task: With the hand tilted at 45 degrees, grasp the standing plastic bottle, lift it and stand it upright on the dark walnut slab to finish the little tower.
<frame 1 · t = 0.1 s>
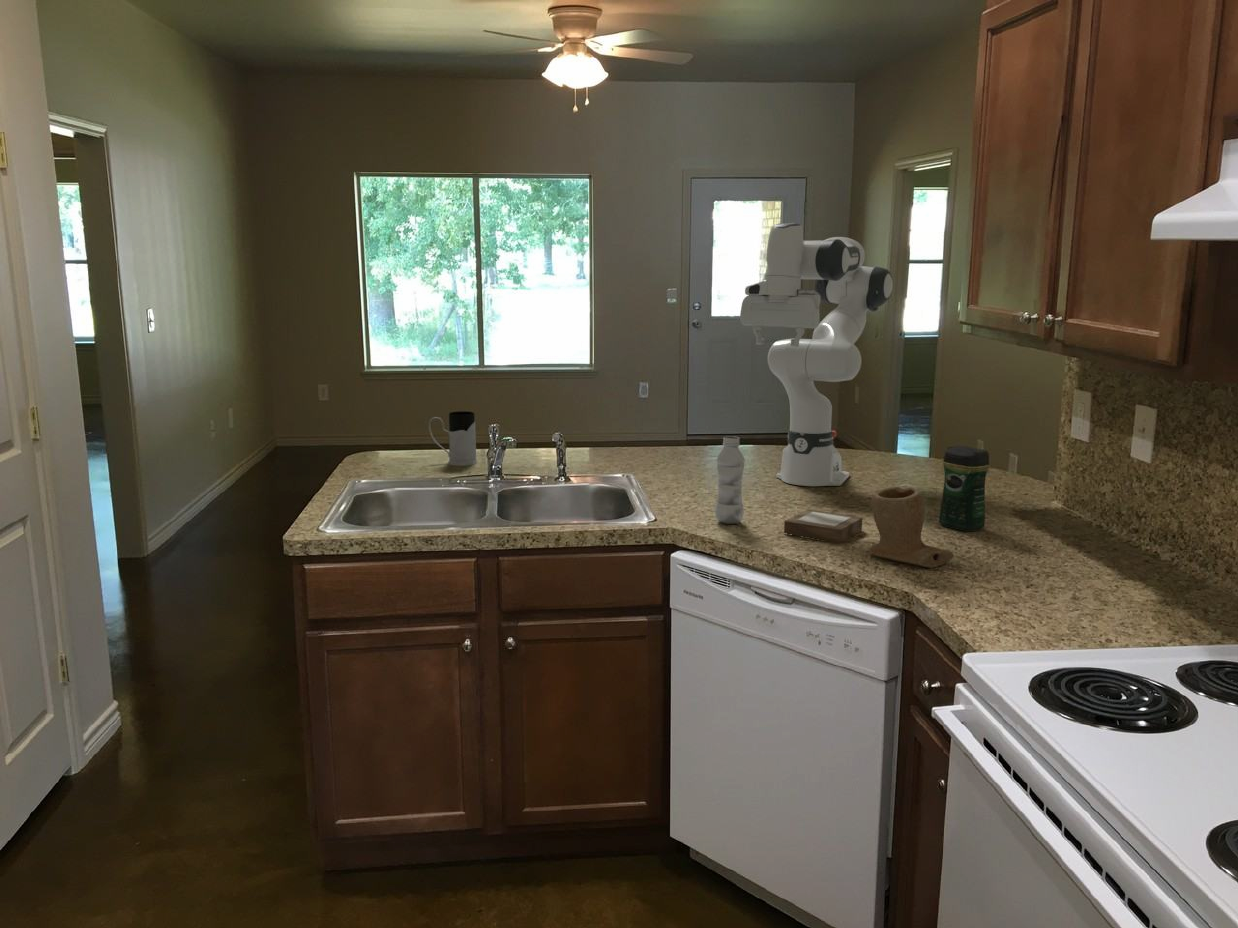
hand: (777, 345, 242), 39 cm above the worktop, tool pointing down, fingers open, 8 cm apart
coffee jar: (961, 527, 223), on the worktop
walnut slab: (823, 532, 217), on the worktop
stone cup: (904, 562, 196), on the worktop
grey and black mug: (453, 463, 291), on the worktop
plastic bottle: (728, 523, 225), on the worktop
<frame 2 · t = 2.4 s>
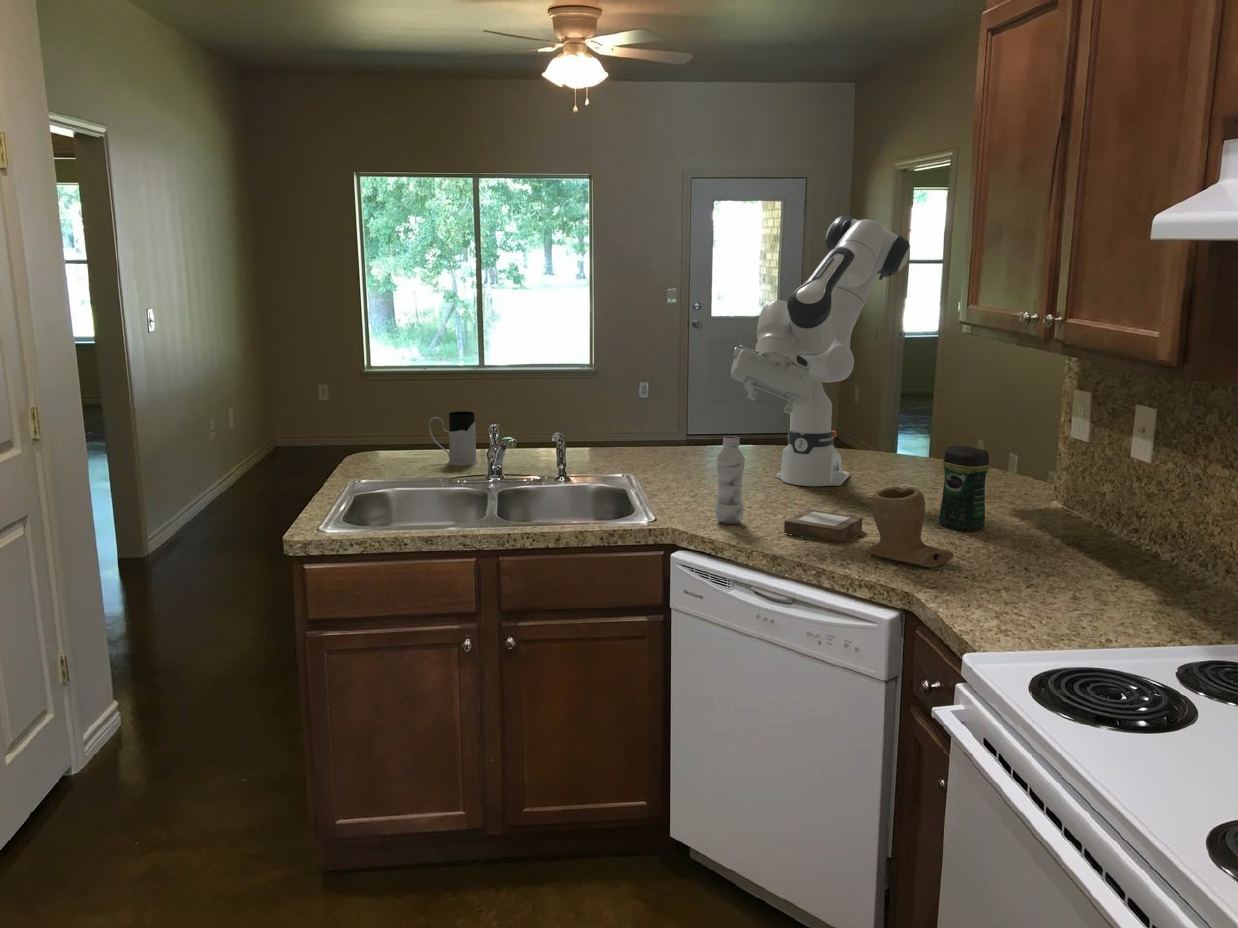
hand: (770, 405, 223), 27 cm above the worktop, tool tilted 45°, fingers open, 8 cm apart
nothing on the worktop moved.
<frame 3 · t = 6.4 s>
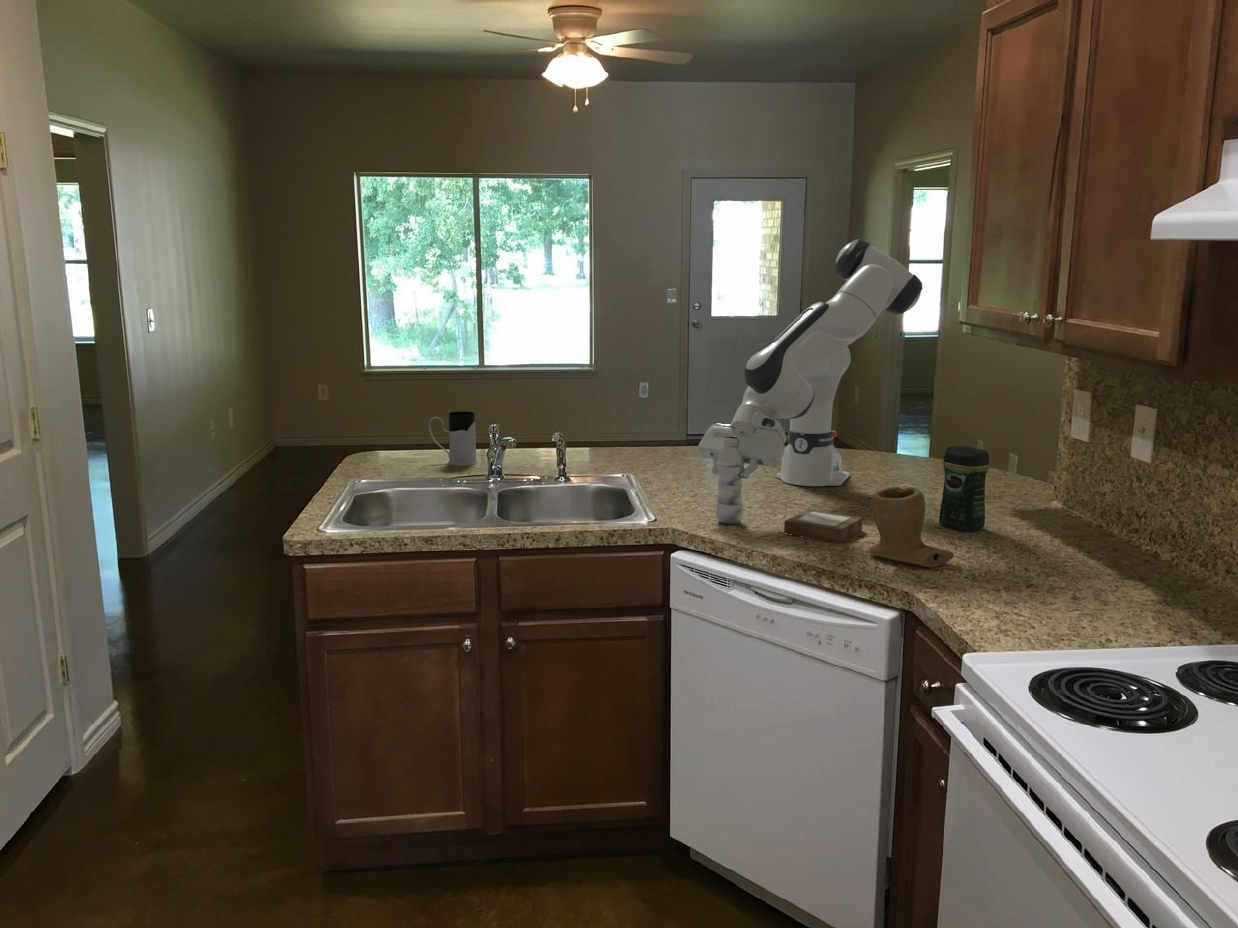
hand: (729, 475, 222), 11 cm above the worktop, tool tilted 45°, fingers closed on plastic bottle, 6 cm apart
plastic bottle: (728, 523, 225), on the worktop, touching gripper
everything else where it was.
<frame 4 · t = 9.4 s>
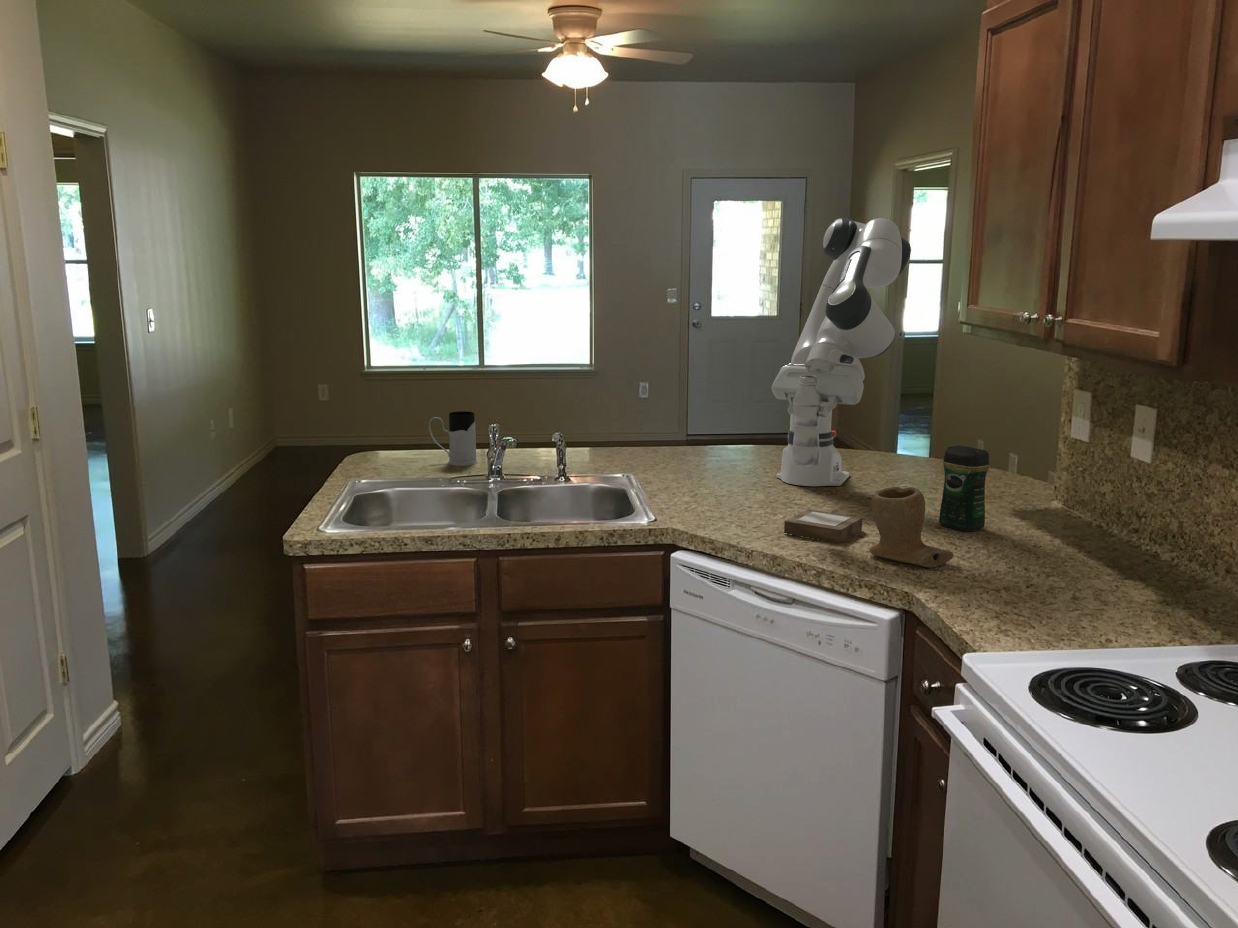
hand: (806, 414, 213), 26 cm above the worktop, tool tilted 45°, fingers closed on plastic bottle, 6 cm apart
plastic bottle: (805, 467, 216), point 14 cm above the worktop, touching gripper
everything else where it was.
when the fingers open (16 cm above the worktop, at t = 12.4 s): plastic bottle moves 3 cm, resting on walnut slab.
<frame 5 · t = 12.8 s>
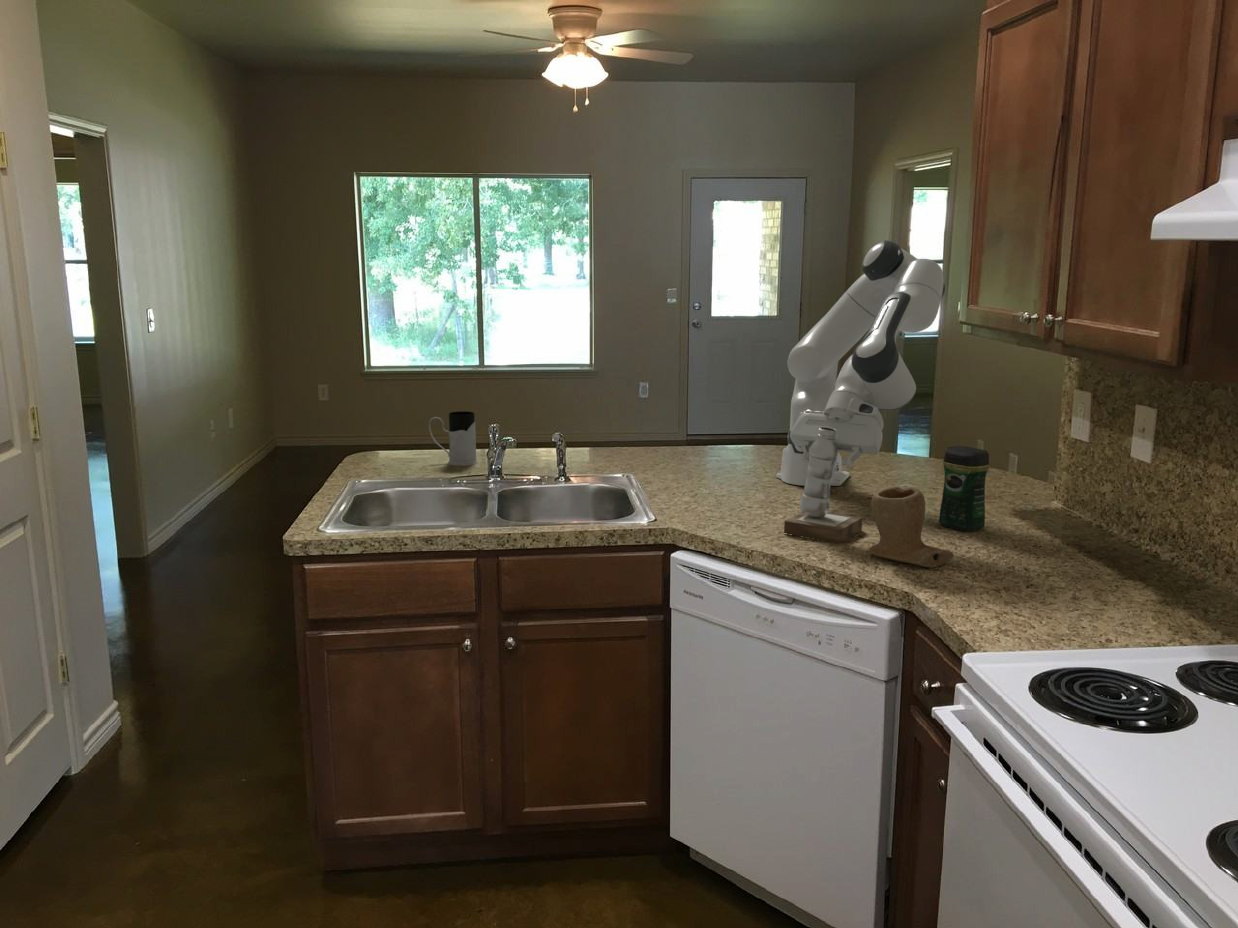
hand: (825, 463, 214), 16 cm above the worktop, tool tilted 45°, fingers open, 8 cm apart
plastic bottle: (812, 516, 218), point 3 cm above the worktop, touching gripper, walnut slab
everything else where it was.
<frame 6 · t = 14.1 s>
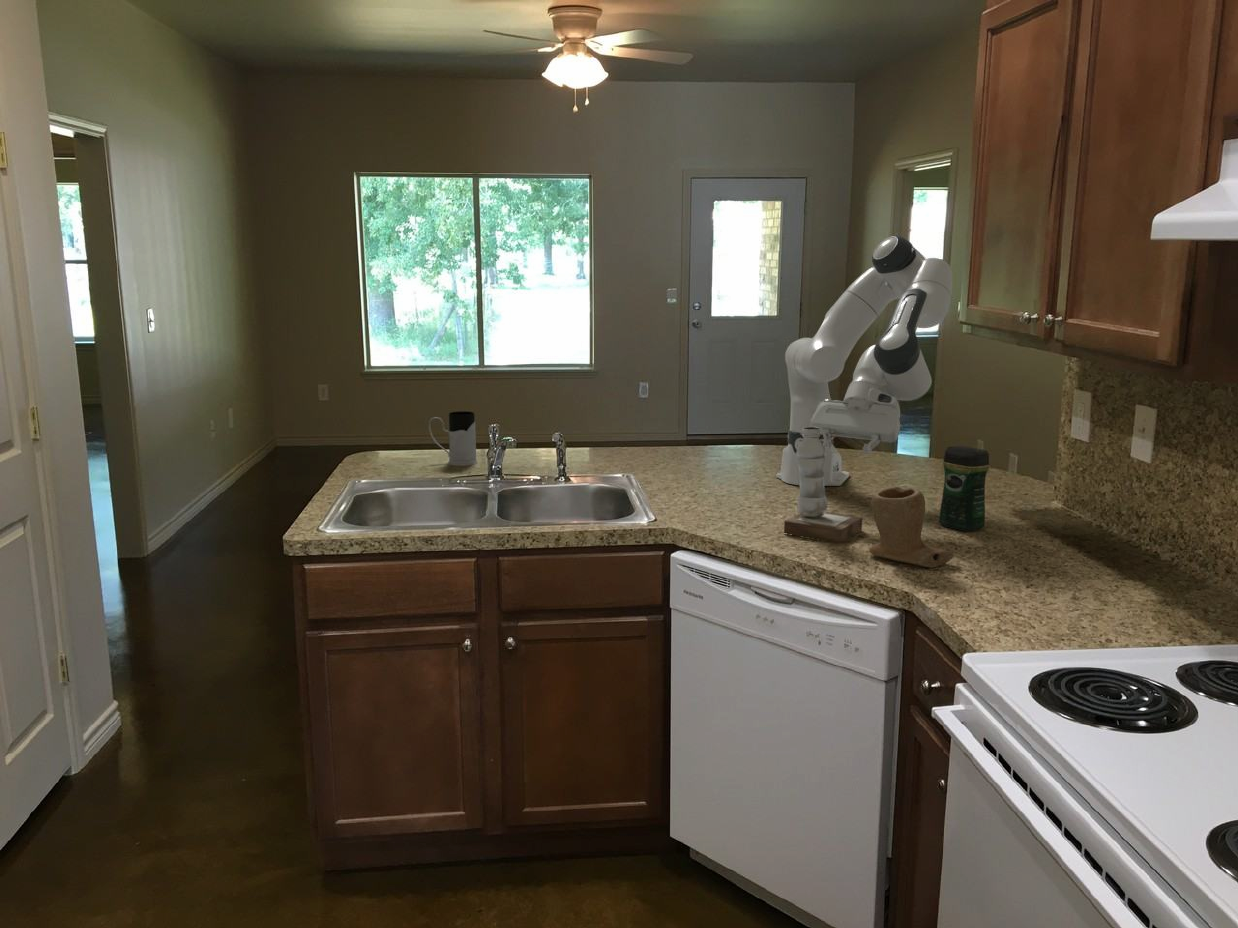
hand: (845, 450, 222), 17 cm above the worktop, tool tilted 45°, fingers open, 8 cm apart
plastic bottle: (812, 517, 218), point 3 cm above the worktop, touching walnut slab
everything else where it was.
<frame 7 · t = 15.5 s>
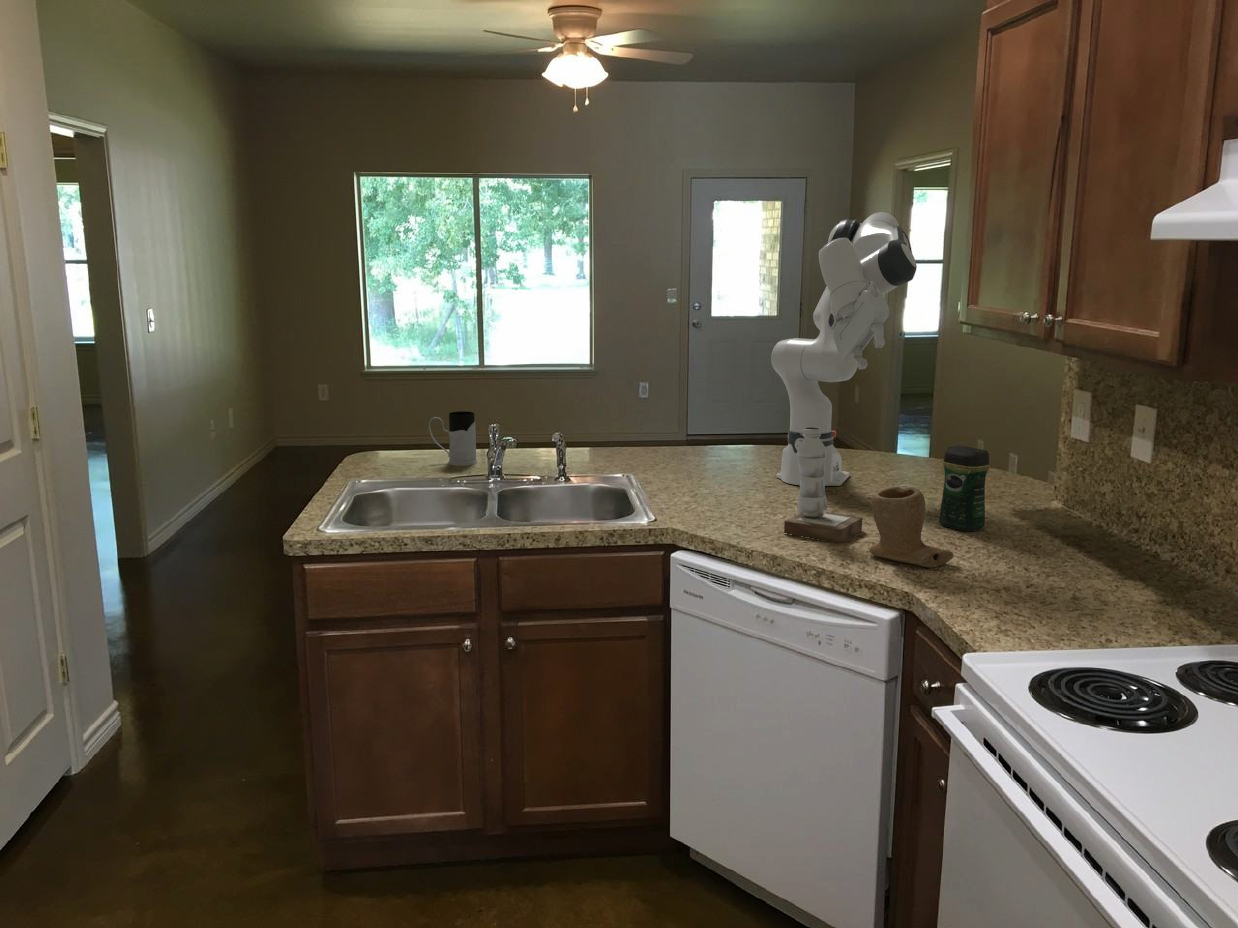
hand: (872, 357, 212), 39 cm above the worktop, tool tilted 35°, fingers open, 8 cm apart
nothing on the worktop moved.
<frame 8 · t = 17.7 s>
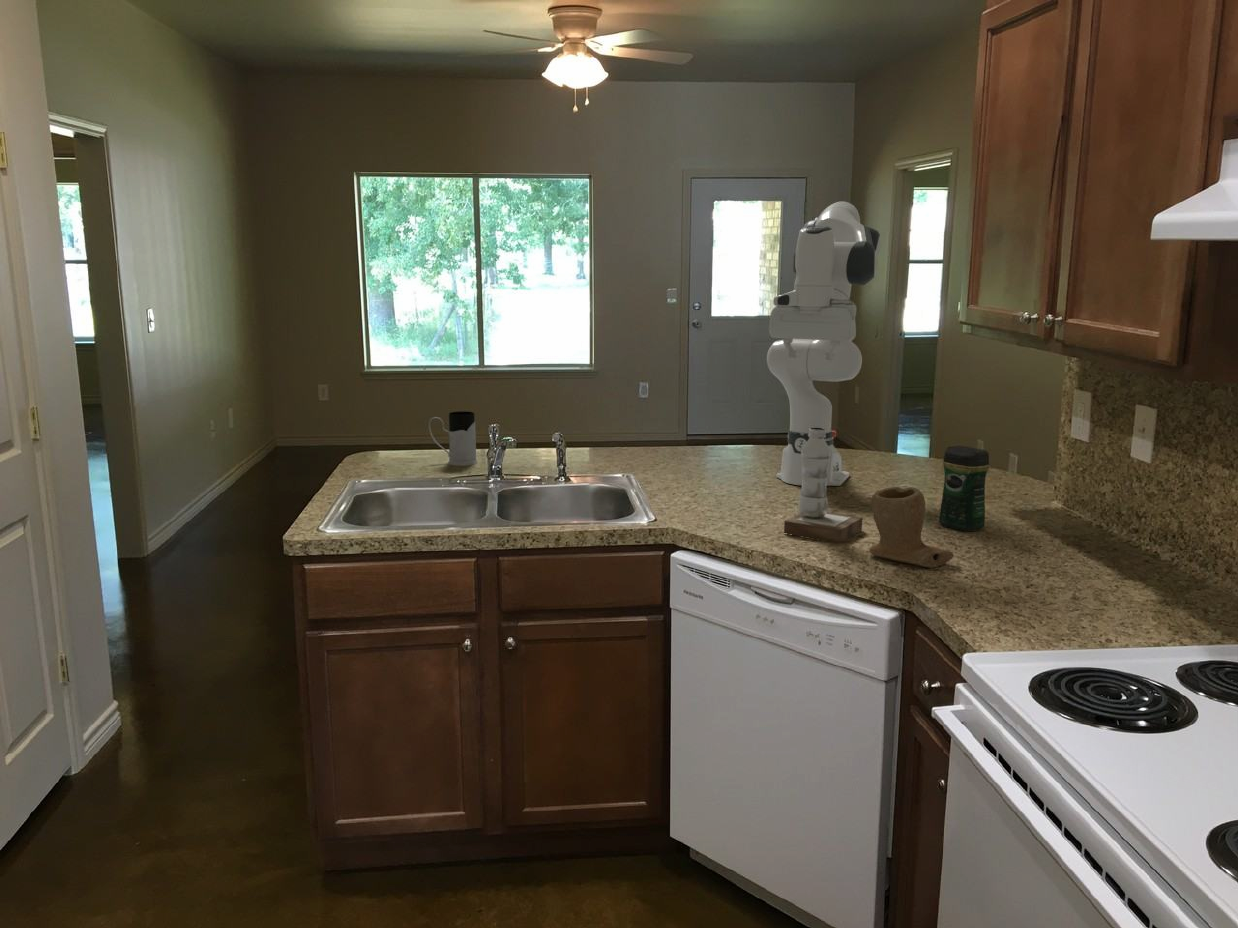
hand: (810, 359, 225), 37 cm above the worktop, tool pointing down, fingers open, 8 cm apart
at the end: plastic bottle inside the target area on the walnut slab (2.7 cm from its centre), point 3.0 cm above the walnut slab's base; plastic bottle tilted 0°; the gripper is holding nothing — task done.
